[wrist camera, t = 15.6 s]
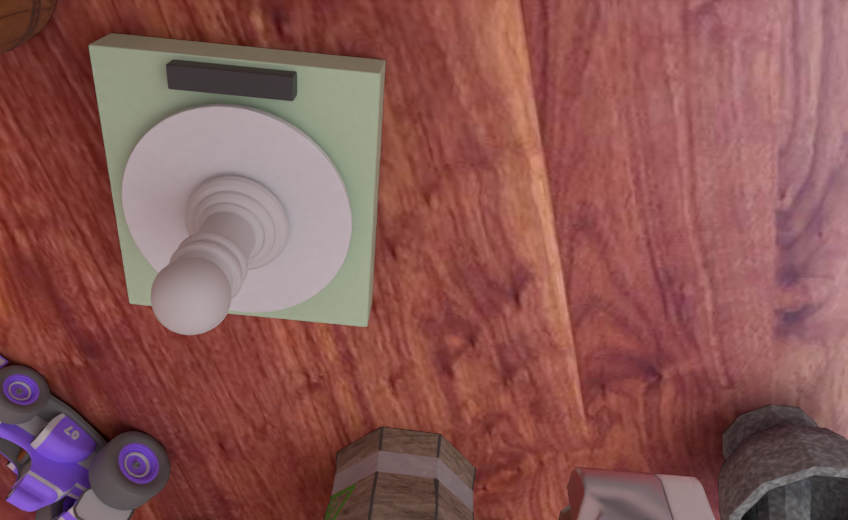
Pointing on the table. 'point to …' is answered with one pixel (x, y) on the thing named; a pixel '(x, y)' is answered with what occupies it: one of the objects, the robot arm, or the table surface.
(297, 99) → the scale
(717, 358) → the table surface
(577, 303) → the table surface
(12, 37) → the wooden figurine
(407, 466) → the mug
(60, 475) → the toy race car
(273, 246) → the chess piece
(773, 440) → the mortar and pestle
